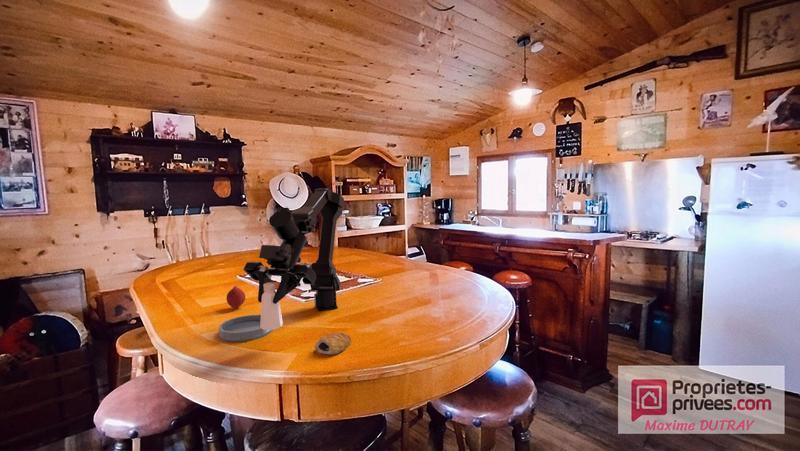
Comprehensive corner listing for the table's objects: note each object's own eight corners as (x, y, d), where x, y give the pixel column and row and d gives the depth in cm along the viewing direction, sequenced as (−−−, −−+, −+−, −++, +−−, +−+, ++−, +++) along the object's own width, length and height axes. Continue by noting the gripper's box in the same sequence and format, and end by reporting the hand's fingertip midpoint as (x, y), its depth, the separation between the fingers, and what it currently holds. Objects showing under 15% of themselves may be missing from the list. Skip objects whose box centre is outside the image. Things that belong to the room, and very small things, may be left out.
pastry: (337, 338, 100) (337, 325, 99) (357, 344, 96) (357, 329, 96) (312, 352, 92) (312, 337, 91) (333, 358, 88) (333, 343, 88)
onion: (238, 311, 122) (237, 288, 122) (223, 310, 124) (221, 287, 123) (249, 306, 128) (248, 283, 127) (234, 305, 129) (233, 282, 129)
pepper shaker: (255, 328, 92) (252, 285, 91) (270, 321, 97) (267, 279, 96) (273, 331, 90) (270, 287, 89) (287, 323, 95) (285, 281, 94)
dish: (271, 320, 114) (270, 312, 114) (275, 336, 101) (274, 327, 101) (220, 327, 109) (220, 319, 109) (218, 345, 96) (217, 336, 96)
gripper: (245, 231, 97) (216, 283, 88) (308, 232, 92) (284, 288, 83) (266, 255, 106) (242, 305, 97) (325, 258, 100) (305, 311, 91)
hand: (266, 302), depth 91 cm, fingers closed on pepper shaker, 4 cm apart
